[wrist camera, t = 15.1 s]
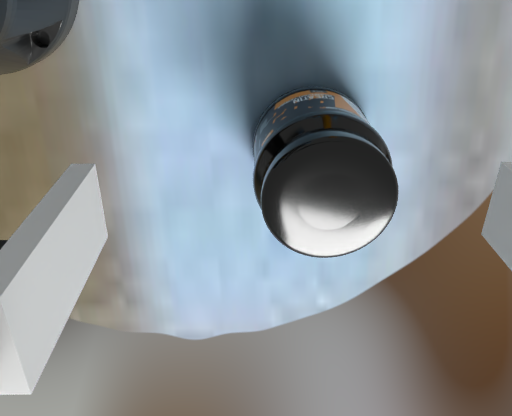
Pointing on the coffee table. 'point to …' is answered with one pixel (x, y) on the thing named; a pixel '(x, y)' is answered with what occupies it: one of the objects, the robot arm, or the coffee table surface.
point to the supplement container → (322, 173)
